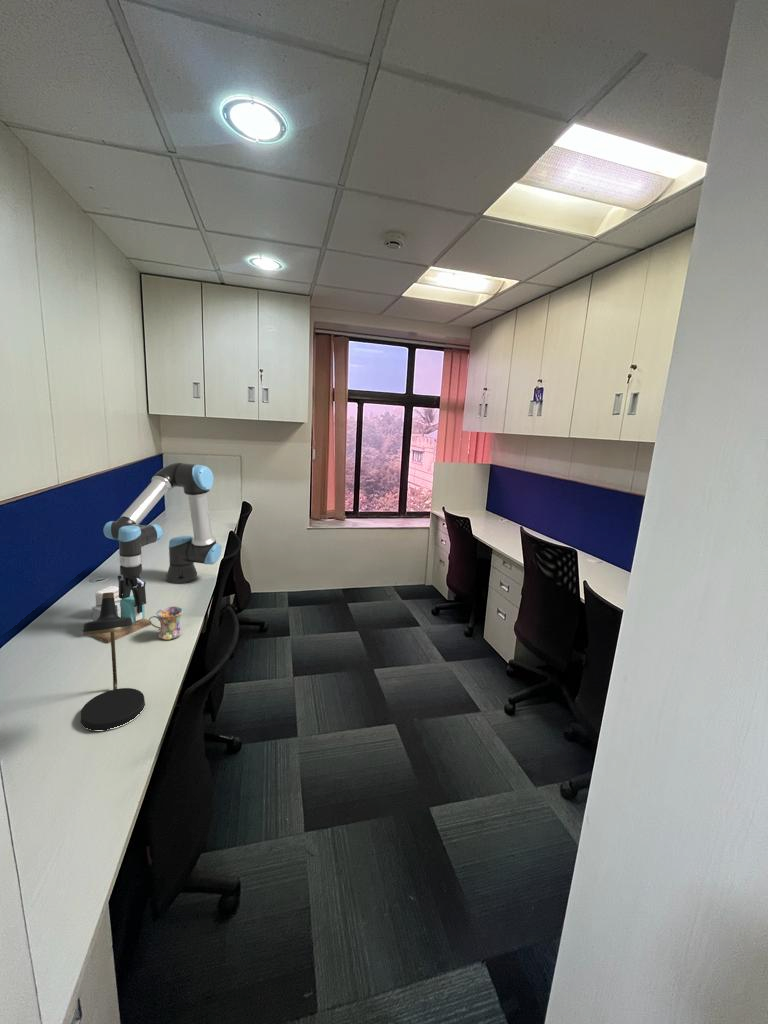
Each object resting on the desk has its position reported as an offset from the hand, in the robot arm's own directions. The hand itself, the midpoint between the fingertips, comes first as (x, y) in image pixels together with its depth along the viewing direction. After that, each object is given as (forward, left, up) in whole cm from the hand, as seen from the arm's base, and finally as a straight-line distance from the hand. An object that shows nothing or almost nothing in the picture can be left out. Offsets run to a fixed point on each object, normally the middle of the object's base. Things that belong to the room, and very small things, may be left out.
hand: (133, 617), depth 169 cm
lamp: (+34, +40, -4) cm, 53 cm away
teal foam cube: (0, 0, 0) cm, 0 cm away
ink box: (-1, -17, -4) cm, 18 cm away
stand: (+4, -2, -4) cm, 6 cm away
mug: (-2, +17, -4) cm, 18 cm away
